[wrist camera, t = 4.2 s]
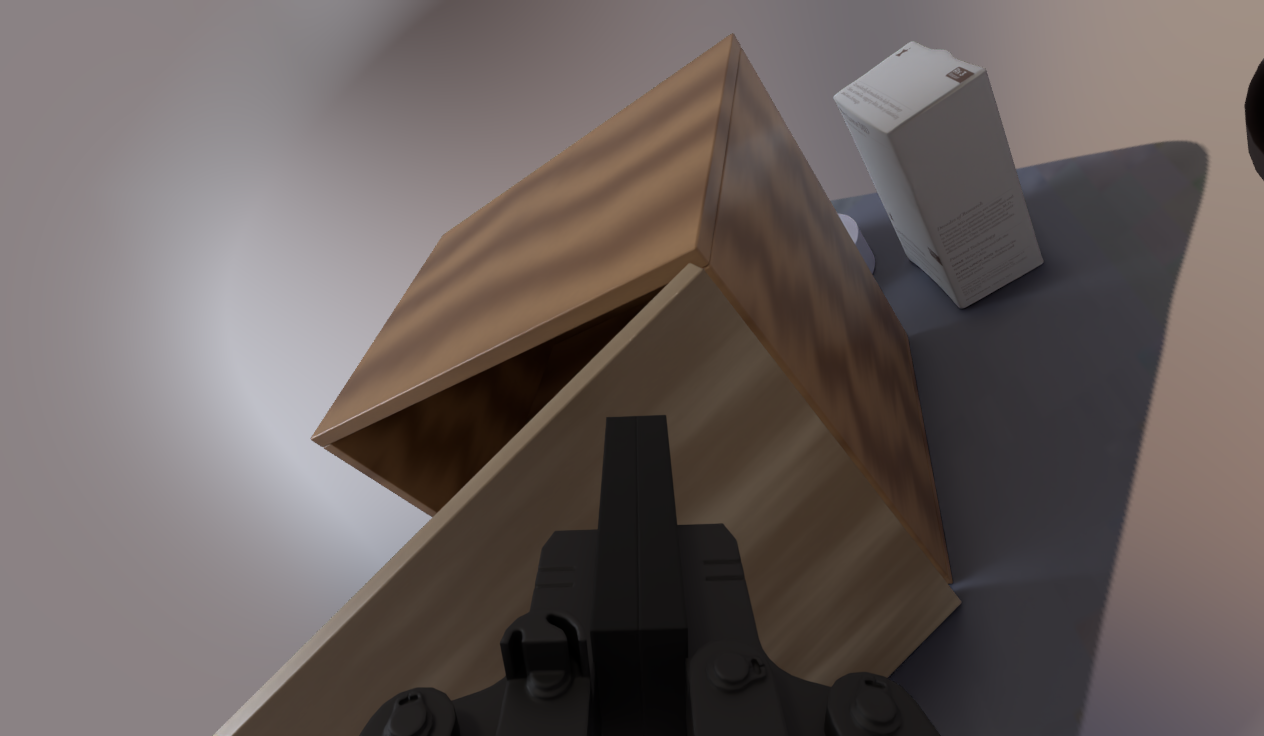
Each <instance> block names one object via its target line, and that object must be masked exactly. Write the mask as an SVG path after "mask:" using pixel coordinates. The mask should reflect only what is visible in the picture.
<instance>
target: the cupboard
mask: <svg viewBox="0 0 1264 736" xmlns="http://www.w3.org/2000/svg"><path fill="white" fill-rule="evenodd" d="M740 47H741V46H740V44H739V42H738V40H737V39H736V37H735V35H734V34H733V33H732V34H730V35H729V36H727V37H726V38H725V39H723V40H722V41H720V42H719V43H717V44H716V45H715V46H713V47H712V48H710V49H709V50H707V51H706V52H705V53H703V54H702V55H700V56H699V57H697V58H696V59H694V60H693V61H692V62H690V63H689V64H687V65H686V66H684V67H683V68H682V69H680V70H679V71H678V72H676V73H674V74H673V75H672V76H670V77H669V78H667V79H666V80H664V81H663V82H662V83H660V84H659V85H657V86H656V87H654V88H653V89H651V90H650V91H649V92H647V93H646V94H644V95H643V96H641V97H640V98H639V99H637V100H636V101H634V102H633V103H631V104H630V105H629V106H627V107H626V108H624V109H623V110H621V111H620V112H619V113H617V114H616V115H614V116H613V117H611V118H610V119H608V120H607V121H606V122H604V123H603V124H601V125H600V126H598V127H597V128H596V129H594V130H593V131H591V132H590V133H588V134H587V135H586V136H584V137H583V138H581V139H580V140H578V141H577V142H576V143H574V144H573V145H572V146H570V147H568V148H567V149H566V150H564V151H563V152H562V153H560V154H558V155H557V156H555V157H554V158H553V159H551V160H550V161H549V162H547V163H545V164H544V165H543V166H541V167H540V168H538V169H537V170H535V171H534V172H533V173H531V174H530V175H528V176H527V177H525V178H524V179H523V180H521V181H520V182H518V183H517V184H516V185H514V186H513V187H511V188H510V189H509V190H507V191H506V192H504V193H502V194H501V195H500V196H498V197H497V198H495V199H494V200H492V201H491V202H490V203H488V204H487V205H485V206H484V207H482V208H481V209H480V210H478V211H477V212H475V213H474V214H472V215H471V216H470V217H468V218H467V219H465V220H464V221H462V222H461V223H460V224H458V225H457V226H455V227H454V228H452V229H451V230H450V231H448V232H447V233H445V234H444V235H443V236H442V237H441V239H440V240H439V242H438V243H437V245H436V246H435V248H434V250H433V251H432V253H431V254H430V256H429V257H428V259H427V260H426V262H425V264H424V265H423V266H422V268H421V270H420V271H419V273H418V274H417V276H416V277H415V279H414V280H413V282H412V283H411V285H410V286H409V288H408V289H407V291H406V293H405V294H404V296H403V297H402V299H401V300H400V302H399V303H398V305H397V306H396V308H395V309H394V311H393V313H392V314H391V316H390V317H389V319H388V320H387V322H386V323H385V325H384V326H383V328H382V330H381V331H380V333H379V334H378V336H377V337H376V339H375V340H374V342H373V343H372V345H371V346H370V348H369V349H368V351H367V353H366V354H365V356H364V357H363V359H362V360H361V362H360V363H359V365H358V366H357V368H356V369H355V371H354V373H353V374H352V376H351V377H350V379H349V380H348V382H347V383H346V385H345V386H344V388H343V390H342V391H341V392H340V394H339V396H338V397H337V399H336V400H335V402H334V403H333V405H332V406H331V408H330V409H329V411H328V413H327V414H326V416H325V417H324V419H323V420H322V422H321V423H320V425H319V426H318V428H317V429H316V431H315V432H314V434H313V436H312V437H311V440H312V441H314V442H315V443H317V444H318V445H320V446H322V447H324V449H326V450H327V451H329V452H330V453H332V454H334V455H335V456H337V457H338V458H340V459H341V460H343V461H345V462H346V463H348V464H350V465H351V466H353V467H354V468H356V469H357V470H359V471H360V472H362V473H364V474H365V475H367V476H368V477H370V478H371V479H373V480H375V481H376V482H378V483H379V484H381V485H382V486H384V487H386V488H387V489H389V490H390V491H392V492H393V493H395V494H397V495H398V496H400V497H401V498H403V499H405V500H406V501H408V502H409V503H411V504H412V505H414V506H415V507H417V508H419V509H420V510H422V511H423V512H425V513H426V514H428V515H430V516H431V517H434V516H435V515H436V514H437V513H438V512H439V511H440V510H441V509H442V508H443V507H444V506H445V505H446V504H447V503H448V502H449V501H450V500H451V499H452V498H453V497H454V496H455V495H456V494H457V493H458V492H459V491H460V490H461V489H462V488H463V487H464V486H465V485H466V484H467V483H468V482H469V481H470V480H471V479H472V478H473V477H474V476H475V475H476V474H477V473H478V472H479V471H480V470H481V469H482V468H483V467H484V466H485V465H486V464H487V463H488V462H489V461H490V460H491V459H492V458H493V457H494V456H495V455H496V454H497V453H498V452H499V451H500V450H501V449H502V448H503V447H504V446H505V445H506V444H507V443H508V442H509V441H510V440H511V439H512V438H513V437H514V436H515V435H516V434H517V433H518V432H519V431H520V430H521V429H522V428H523V427H524V426H525V425H526V424H527V423H528V422H529V421H530V420H531V419H532V418H533V417H534V416H535V415H536V414H537V413H538V412H539V411H540V410H541V409H542V408H543V407H544V406H545V405H546V404H547V403H548V402H550V401H551V400H552V399H553V398H554V397H555V396H556V395H557V394H558V393H559V392H560V391H561V390H562V389H563V388H564V387H565V386H566V385H567V384H568V383H569V382H570V381H571V380H572V379H573V378H574V377H575V376H576V375H577V374H578V373H579V372H580V371H581V370H582V369H583V368H584V367H585V366H586V365H587V364H588V363H589V362H590V361H591V360H592V359H593V358H594V357H595V356H596V355H597V354H598V353H599V352H600V351H601V350H602V349H603V348H604V347H605V346H606V345H607V344H608V343H609V342H610V341H611V340H612V339H613V338H614V337H615V336H616V335H617V334H618V333H619V332H620V331H621V330H622V329H623V328H624V327H625V326H626V325H627V324H628V323H629V322H630V321H631V320H632V319H633V318H634V317H635V316H636V315H637V314H638V313H639V312H640V311H641V310H642V309H643V308H644V307H645V306H646V305H647V304H648V303H649V302H650V301H651V300H652V299H653V298H654V297H655V296H656V295H657V294H658V293H659V292H660V291H661V290H662V289H663V288H664V287H665V286H666V285H667V284H668V283H669V282H670V281H671V280H672V279H673V278H674V277H676V276H677V275H678V274H679V273H680V272H681V271H682V270H683V269H684V268H685V267H686V266H687V265H688V264H689V263H692V264H694V265H696V266H698V267H700V268H702V269H704V270H705V272H706V273H707V274H708V275H709V277H710V278H711V279H712V281H713V282H714V283H715V284H716V286H717V287H718V288H719V290H720V291H721V292H722V293H723V295H724V296H725V297H726V299H727V300H728V301H729V302H730V304H731V305H732V306H733V308H734V309H735V310H736V312H737V313H738V314H739V315H740V317H741V318H742V319H743V321H744V322H745V323H746V324H747V326H748V327H749V328H750V330H751V331H752V332H753V333H754V335H755V336H756V337H757V339H758V340H759V341H760V342H761V344H762V345H763V346H764V348H765V349H766V350H767V351H768V353H769V354H770V355H771V357H772V358H773V359H774V361H775V362H776V363H777V364H778V366H779V367H780V368H781V370H782V371H783V372H784V373H785V375H786V376H787V377H788V379H789V380H790V381H791V382H792V384H793V385H794V386H795V388H796V389H797V390H798V391H799V393H800V394H801V395H802V397H803V398H804V399H805V400H806V402H807V403H808V404H809V406H810V407H811V408H812V410H813V411H814V412H815V413H816V415H817V416H818V417H819V419H820V420H821V421H822V422H823V424H824V425H825V426H826V428H827V429H828V430H829V431H830V433H831V434H832V435H833V437H834V438H835V439H836V440H837V442H838V443H839V444H840V446H841V447H842V448H843V449H844V451H845V452H846V453H847V455H848V456H849V457H850V459H851V460H852V461H853V462H854V464H855V465H856V466H857V468H858V469H859V470H860V471H861V473H862V474H863V475H864V477H865V478H866V479H867V480H868V482H869V483H870V484H871V486H872V487H873V488H874V489H875V491H876V492H877V493H878V495H879V496H880V497H881V498H882V500H883V501H884V502H885V504H886V505H887V506H888V508H889V509H890V510H891V511H892V513H893V514H894V515H895V517H896V518H897V519H898V520H899V522H900V523H901V524H902V526H903V527H904V528H905V529H906V531H907V532H908V533H909V535H910V536H911V537H912V538H913V540H914V541H915V542H916V544H917V545H918V546H919V547H920V549H921V550H922V551H923V553H924V554H925V555H926V557H927V558H928V559H929V560H930V562H931V563H932V564H933V566H934V567H935V568H936V569H937V571H938V572H939V573H940V575H941V576H942V577H943V578H944V580H945V581H946V582H947V584H952V583H953V580H952V575H951V569H950V564H949V558H948V553H947V547H946V542H945V537H944V531H943V526H942V520H941V515H940V509H939V504H938V498H937V493H936V488H935V482H934V477H933V471H932V466H931V460H930V455H929V450H928V444H927V439H926V433H925V428H924V422H923V417H922V411H921V406H920V401H919V395H918V390H917V384H916V379H915V373H914V368H913V362H912V357H911V352H910V346H909V341H908V335H907V334H906V332H905V330H904V329H903V327H902V325H901V323H900V322H899V320H898V318H897V316H896V315H895V313H894V311H893V309H892V308H891V306H890V304H889V303H888V301H887V299H886V297H885V296H884V294H883V292H882V290H881V289H880V287H879V285H878V283H877V282H876V280H875V278H874V276H873V275H872V273H871V271H870V270H869V268H868V266H867V264H866V263H865V261H864V259H863V257H862V256H861V254H860V252H859V250H858V249H857V247H856V245H855V243H854V242H853V240H852V238H851V237H850V235H849V233H848V231H847V230H846V228H845V226H844V224H843V223H842V221H841V219H840V217H839V216H838V214H837V212H836V210H835V209H834V207H833V205H832V203H831V202H830V200H829V198H828V197H827V195H826V193H825V192H824V190H823V188H822V186H821V184H820V183H819V181H818V179H817V178H816V176H815V174H814V172H813V171H812V169H811V167H810V165H809V164H808V162H807V160H806V158H805V157H804V155H803V153H802V151H801V150H800V148H799V146H798V144H797V143H796V141H795V139H794V138H793V136H792V134H791V132H790V131H789V129H788V127H787V125H786V124H785V122H784V120H783V118H782V117H781V115H780V113H779V111H778V110H777V108H776V106H775V105H774V103H773V101H772V99H771V98H770V96H769V94H768V92H767V91H766V89H765V87H764V85H763V84H762V82H761V80H760V78H759V77H758V75H757V73H756V71H755V70H754V68H753V66H752V65H751V63H750V61H749V60H748V58H747V56H746V54H745V52H744V51H743V49H742V48H740Z"/></svg>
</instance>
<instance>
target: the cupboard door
mask: <svg viewBox="0 0 1264 736" xmlns="http://www.w3.org/2000/svg"><path fill="white" fill-rule="evenodd" d="M650 415H666V417H667V427H668V437H669V447H670V457H671V467H672V477H673V487H674V497H675V506H676V516H677V525H690V524H719V523H723V524H724V525H725V527H726V528H727V529H728V530H729V531H730V533H731V534H732V535H733V536H734V537H735V539H736V540H737V544H738V548H739V553H740V557H741V563H742V566H743V570H744V575H745V580H746V584H747V588H748V592H749V597H750V601H751V606H752V610H753V614H754V619H755V623H756V628H757V632H758V637H759V640H760V643H761V645H762V648H763V650H764V651H765V653H766V654H767V656H768V657H769V659H770V660H771V661H773V662H774V663H775V664H776V665H777V666H778V667H779V668H781V669H782V670H784V671H786V672H787V673H789V674H790V675H793V676H795V677H798V678H801V679H804V680H807V681H811V682H815V683H818V684H822V685H826V686H830V687H832V686H833V684H834V683H835V681H836V680H837V679H839V678H841V677H843V676H845V675H847V674H849V673H856V672H869V673H873V674H877V675H881V676H884V677H886V678H888V677H889V676H890V675H891V674H892V673H893V672H894V670H895V669H896V668H897V667H898V666H899V665H900V664H901V663H902V662H903V661H904V660H905V659H906V658H907V657H908V656H909V655H910V654H911V653H912V652H913V651H914V650H915V649H916V648H917V647H918V646H919V645H920V644H921V643H922V642H923V641H924V640H925V639H926V638H927V637H928V636H929V635H930V634H931V633H932V632H933V631H934V630H935V629H936V628H937V627H938V626H939V625H940V624H941V623H942V622H943V621H944V620H945V619H946V618H947V617H948V616H949V615H950V614H951V613H952V612H953V611H954V610H955V609H956V608H957V607H958V606H959V605H960V604H961V600H960V599H959V598H958V597H957V595H956V594H955V593H954V591H953V590H952V589H951V587H950V586H949V585H948V584H947V582H946V581H945V580H944V578H943V577H942V576H941V575H940V573H939V572H938V571H937V569H936V568H935V567H934V566H933V564H932V563H931V562H930V560H929V559H928V558H927V557H926V555H925V554H924V553H923V551H922V550H921V549H920V547H919V546H918V545H917V544H916V542H915V541H914V540H913V538H912V537H911V536H910V535H909V533H908V532H907V531H906V529H905V528H904V527H903V526H902V524H901V523H900V522H899V520H898V519H897V518H896V517H895V515H894V514H893V513H892V511H891V510H890V509H889V508H888V506H887V505H886V504H885V502H884V501H883V500H882V498H881V497H880V496H879V495H878V493H877V492H876V491H875V489H874V488H873V487H872V486H871V484H870V483H869V482H868V480H867V479H866V478H865V477H864V475H863V474H862V473H861V471H860V470H859V469H858V468H857V466H856V465H855V464H854V462H853V461H852V460H851V459H850V457H849V456H848V455H847V453H846V452H845V451H844V449H843V448H842V447H841V446H840V444H839V443H838V442H837V440H836V439H835V438H834V437H833V435H832V434H831V433H830V431H829V430H828V429H827V428H826V426H825V425H824V424H823V422H822V421H821V420H820V419H819V417H818V416H817V415H816V413H815V412H814V411H813V410H812V408H811V407H810V406H809V404H808V403H807V402H806V400H805V399H804V398H803V397H802V395H801V394H800V393H799V391H798V390H797V389H796V388H795V386H794V385H793V384H792V382H791V381H790V380H789V379H788V377H787V376H786V375H785V373H784V372H783V371H782V370H781V368H780V367H779V366H778V364H777V363H776V362H775V361H774V359H773V358H772V357H771V355H770V354H769V353H768V351H767V350H766V349H765V348H764V346H763V345H762V344H761V342H760V341H759V340H758V339H757V337H756V336H755V335H754V333H753V332H752V331H751V330H750V328H749V327H748V326H747V324H746V323H745V322H744V321H743V319H742V318H741V317H740V315H739V314H738V313H737V312H736V310H735V309H734V308H733V306H732V305H731V304H730V302H729V301H728V300H727V299H726V297H725V296H724V295H723V293H722V292H721V291H720V290H719V288H718V287H717V286H716V284H715V283H714V282H713V281H712V279H711V278H710V277H709V275H708V274H707V273H706V272H705V270H704V269H702V268H700V267H698V266H696V265H694V264H692V263H689V264H688V265H687V266H686V267H685V268H684V269H683V270H682V271H681V272H680V273H679V274H678V275H677V276H676V277H674V278H673V279H672V280H671V281H670V282H669V283H668V284H667V285H666V286H665V287H664V288H663V289H662V290H661V291H660V292H659V293H658V294H657V295H656V296H655V297H654V298H653V299H652V300H651V301H650V302H649V303H648V304H647V305H646V306H645V307H644V308H643V309H642V310H641V311H640V312H639V313H638V314H637V315H636V316H635V317H634V318H633V319H632V320H631V321H630V322H629V323H628V324H627V325H626V326H625V327H624V328H623V329H622V330H621V331H620V332H619V333H618V334H617V335H616V336H615V337H614V338H613V339H612V340H611V341H610V342H609V343H608V344H607V345H606V346H605V347H604V348H603V349H602V350H601V351H600V352H599V353H598V354H597V355H596V356H595V357H594V358H593V359H592V360H591V361H590V362H589V363H588V364H587V365H586V366H585V367H584V368H583V369H582V370H581V371H580V372H579V373H578V374H577V375H576V376H575V377H574V378H573V379H572V380H571V381H570V382H569V383H568V384H567V385H566V386H565V387H564V388H563V389H562V390H561V391H560V392H559V393H558V394H557V395H556V396H555V397H554V398H553V399H552V400H551V401H550V402H548V403H547V404H546V405H545V406H544V407H543V408H542V409H541V410H540V411H539V412H538V413H537V414H536V415H535V416H534V417H533V418H532V419H531V420H530V421H529V422H528V423H527V424H526V425H525V426H524V427H523V428H522V429H521V430H520V431H519V432H518V433H517V434H516V435H515V436H514V437H513V438H512V439H511V440H510V441H509V442H508V443H507V444H506V445H505V446H504V447H503V448H502V449H501V450H500V451H499V452H498V453H497V454H496V455H495V456H494V457H493V458H492V459H491V460H490V461H489V462H488V463H487V464H486V465H485V466H484V467H483V468H482V469H481V470H480V471H479V472H478V473H477V474H476V475H475V476H474V477H473V478H472V479H471V480H470V481H469V482H468V483H467V484H466V485H465V486H464V487H463V488H462V489H461V490H460V491H459V492H458V493H457V494H456V495H455V496H454V497H453V498H452V499H451V500H450V501H449V502H448V503H447V504H446V505H445V506H444V507H443V508H442V509H441V510H440V511H439V512H438V513H437V514H436V515H435V516H434V517H433V518H432V519H431V520H430V521H429V522H428V523H427V524H426V525H425V526H423V528H421V529H420V530H419V532H418V533H416V534H415V535H414V536H413V537H412V539H410V541H408V542H407V543H406V544H405V545H404V546H403V547H402V548H401V549H400V550H399V551H398V552H397V553H396V554H395V555H394V556H393V557H392V558H391V559H390V560H389V561H388V562H387V563H386V564H385V565H384V566H383V567H382V568H381V569H380V570H379V571H378V572H377V573H376V574H375V575H374V576H373V577H372V578H371V579H370V580H369V581H368V582H367V583H366V584H365V585H364V586H363V587H362V588H361V589H360V590H359V591H358V592H357V593H356V594H355V595H354V596H353V597H352V598H351V599H350V600H349V601H348V602H347V603H346V604H345V605H344V606H343V607H342V608H341V609H340V610H339V611H338V612H337V613H336V614H335V615H334V616H333V617H332V618H331V619H330V620H329V621H328V622H327V623H326V624H325V625H324V626H323V627H322V628H321V629H320V630H319V631H318V632H317V633H316V634H315V635H314V636H313V637H312V638H311V639H310V640H309V641H308V642H307V643H306V644H305V645H304V646H303V647H302V648H301V649H300V650H298V651H297V653H296V654H294V655H293V656H292V657H291V658H290V660H289V661H287V663H285V664H284V665H283V666H282V667H281V668H280V669H279V671H277V673H275V674H274V675H273V676H272V677H271V678H270V679H269V680H268V681H267V682H266V683H265V684H264V685H263V686H262V687H261V688H260V689H259V690H258V691H257V692H256V693H255V694H254V695H253V696H252V697H251V698H250V699H249V700H248V701H247V702H246V703H245V704H244V705H243V706H242V707H241V708H240V709H239V710H238V711H237V712H236V713H235V714H234V715H233V716H232V717H231V718H230V719H229V720H228V721H227V722H226V723H225V724H224V725H223V726H222V727H221V728H220V729H219V730H218V731H217V732H216V733H215V734H214V735H213V736H359V735H360V733H361V732H362V730H363V729H364V727H365V726H366V724H367V723H368V721H369V720H370V718H371V717H372V716H373V715H374V714H375V712H376V711H377V710H378V709H379V708H380V707H381V706H382V705H383V704H384V703H385V702H387V701H388V700H390V699H391V698H393V697H394V696H396V695H397V694H399V693H401V692H404V691H407V690H410V689H413V688H416V687H433V688H435V689H437V690H440V691H442V692H444V693H446V694H447V696H448V697H449V699H450V700H451V701H452V700H455V699H458V698H461V697H464V696H467V695H470V694H473V693H476V692H479V691H481V690H483V689H486V688H488V687H490V686H492V685H494V684H495V683H497V682H498V681H500V680H501V679H503V678H504V677H505V676H506V673H505V668H504V663H503V658H502V653H501V647H500V641H501V639H502V637H503V635H504V633H505V630H506V629H507V628H508V627H509V626H510V625H511V624H512V623H513V622H514V621H515V620H516V619H517V618H519V617H520V616H522V615H524V614H526V613H528V612H529V611H530V606H531V601H532V596H533V591H534V588H535V580H536V575H537V572H538V565H539V560H540V555H541V549H542V547H543V546H544V545H545V543H546V542H547V541H548V539H549V538H550V537H551V535H552V534H553V533H554V531H565V530H593V529H598V519H599V506H600V493H601V480H602V467H603V454H604V441H605V428H606V417H624V416H650Z"/></svg>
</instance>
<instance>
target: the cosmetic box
mask: <svg viewBox="0 0 1264 736" xmlns="http://www.w3.org/2000/svg"><path fill="white" fill-rule="evenodd" d="M833 99H834V100H835V102H836V104H837V105H838V108H839V110H840V112H841V114H842V116H843V118H844V120H845V122H846V125H847V127H848V129H849V131H850V133H851V135H852V137H853V140H854V142H855V144H856V146H857V148H858V151H859V153H860V155H861V157H862V159H863V162H864V164H865V166H866V168H867V170H868V173H869V175H870V177H871V179H872V181H873V184H874V186H875V188H876V190H877V192H878V195H879V197H880V199H881V201H882V203H883V205H884V207H885V209H886V211H887V214H888V216H889V218H890V220H891V222H892V225H893V227H894V229H895V231H896V233H897V236H898V238H899V240H900V242H901V244H902V247H903V249H904V251H905V253H906V255H907V257H908V259H909V260H911V261H912V262H913V263H915V264H916V265H917V266H919V267H920V268H921V269H922V270H923V271H924V272H925V273H926V274H928V275H929V276H930V277H931V278H932V279H933V280H934V281H935V282H936V283H937V284H938V285H939V286H940V287H941V288H942V289H943V290H944V292H945V293H946V294H947V295H948V296H949V297H950V298H951V299H952V300H953V302H954V303H955V304H956V305H957V306H958V307H959V308H966V307H967V306H969V305H971V304H973V303H975V302H976V301H978V300H980V299H982V298H983V297H985V296H987V295H989V294H990V293H992V292H994V291H996V290H997V289H999V288H1001V287H1003V286H1004V285H1006V284H1008V283H1010V282H1011V281H1013V280H1015V279H1017V278H1019V277H1021V276H1022V275H1024V274H1026V273H1027V272H1029V271H1031V270H1033V269H1034V268H1036V267H1038V266H1039V265H1041V264H1043V262H1044V260H1043V258H1042V255H1041V252H1040V249H1039V245H1038V242H1037V239H1036V236H1035V232H1034V229H1033V225H1032V222H1031V219H1030V215H1029V212H1028V209H1027V205H1026V202H1025V199H1024V195H1023V192H1022V189H1021V185H1020V182H1019V179H1018V175H1017V172H1016V169H1015V165H1014V162H1013V159H1012V155H1011V152H1010V148H1009V145H1008V142H1007V138H1006V135H1005V131H1004V128H1003V125H1002V121H1001V118H1000V115H999V111H998V108H997V104H996V101H995V98H994V94H993V91H992V88H991V85H990V81H989V78H988V74H987V71H986V69H985V68H982V67H979V66H976V65H973V64H970V63H967V62H964V61H961V60H959V59H956V58H954V57H953V56H952V54H951V53H950V52H949V51H946V50H943V49H936V50H932V49H930V48H927V47H925V46H922V45H921V44H919V43H917V42H913V41H912V42H910V43H908V44H907V45H905V46H904V47H902V48H901V49H900V50H898V51H897V52H895V53H894V54H892V55H891V56H889V57H888V58H887V59H885V60H884V61H883V62H881V63H880V64H878V65H877V66H876V67H874V68H873V69H872V70H870V71H869V72H868V73H866V74H865V75H863V76H862V77H860V78H859V79H858V80H856V81H854V82H853V83H851V84H850V85H848V86H847V87H845V88H844V89H842V90H841V91H840V92H838V93H837V94H836V95H835V96H834V97H833Z"/></svg>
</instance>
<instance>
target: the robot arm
mask: <svg viewBox="0 0 1264 736" xmlns="http://www.w3.org/2000/svg"><path fill="white" fill-rule="evenodd" d="M500 647H501V653H502V658H503V663H504V668H505V673H506V676H505V677H504V678H503V679H501V680H500V681H498V682H497V683H495V684H494V685H492V686H490V687H488V688H486V689H483V690H481V691H479V692H476V693H473V694H470V695H467V696H464V697H461V698H458V699H455V700H452V701H451V700H450V699H449V697H448V696H447V694H446V693H444V692H442V691H440V690H437V689H435V688H433V687H416V688H413V689H410V690H407V691H404V692H401V693H399V694H397V695H396V696H394V697H393V698H391V699H390V700H388V701H387V702H385V703H384V704H383V705H382V706H381V707H380V708H379V709H378V710H377V711H376V712H375V714H374V715H373V716H372V717H371V718H370V720H369V721H368V723H367V724H366V726H365V727H364V729H363V730H362V732H361V733H360V735H359V736H940V734H939V733H938V731H937V730H936V729H935V727H934V726H933V725H932V723H931V722H930V720H929V719H928V718H927V716H926V715H925V713H924V712H923V711H922V709H921V708H920V707H919V705H918V704H917V702H916V701H915V700H914V699H913V698H912V697H911V696H910V695H909V694H908V693H907V692H906V691H905V690H904V689H903V688H902V687H901V686H900V685H898V684H896V683H895V682H893V681H891V680H890V679H888V678H886V677H884V676H881V675H877V674H873V673H869V672H856V673H849V674H847V675H845V676H843V677H841V678H839V679H837V680H836V681H835V683H834V684H833V686H832V687H830V686H826V685H822V684H818V683H815V682H811V681H807V680H804V679H801V678H798V677H795V676H793V675H790V674H789V673H787V672H786V671H784V670H782V669H781V668H779V667H778V666H777V665H776V664H775V663H774V662H773V661H771V660H770V659H769V657H768V656H767V654H766V653H765V651H764V650H763V648H762V645H761V643H760V640H759V637H758V632H757V628H756V623H755V619H754V614H753V610H752V606H751V601H750V597H749V592H748V588H747V584H746V580H745V575H744V570H743V566H742V563H741V557H740V553H739V548H738V544H737V540H736V539H735V537H734V536H733V535H732V534H731V533H730V531H729V530H728V529H727V528H726V527H725V525H724V524H723V523H719V524H690V525H677V516H676V506H675V497H674V487H673V477H672V467H671V457H670V447H669V437H668V427H667V417H666V415H650V416H624V417H606V428H605V441H604V454H603V467H602V480H601V493H600V506H599V519H598V529H593V530H565V531H554V533H553V534H552V535H551V537H550V538H549V539H548V541H547V542H546V543H545V545H544V546H543V547H542V549H541V555H540V560H539V565H538V572H537V575H536V580H535V588H534V591H533V596H532V601H531V606H530V611H529V612H528V613H526V614H524V615H522V616H520V617H519V618H517V619H516V620H515V621H514V622H513V623H512V624H511V625H510V626H509V627H508V628H507V629H506V630H505V633H504V635H503V637H502V639H501V641H500Z"/></svg>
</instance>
